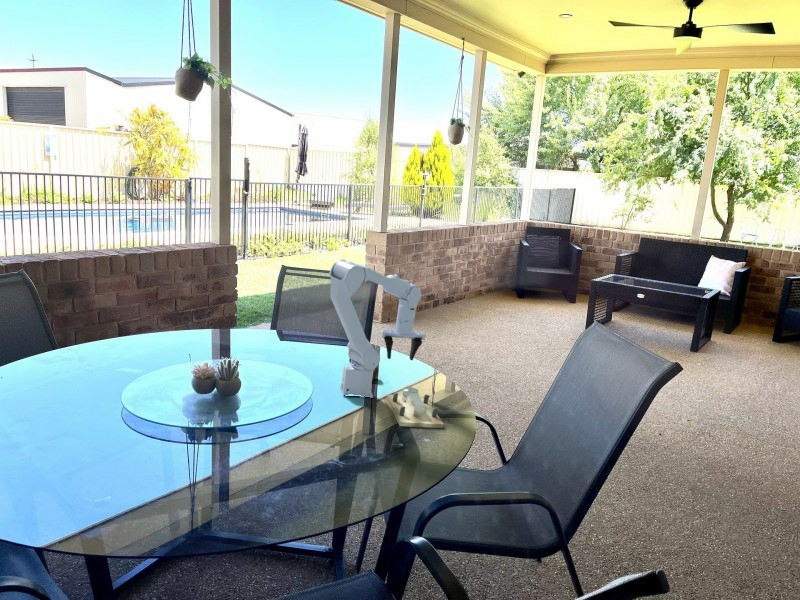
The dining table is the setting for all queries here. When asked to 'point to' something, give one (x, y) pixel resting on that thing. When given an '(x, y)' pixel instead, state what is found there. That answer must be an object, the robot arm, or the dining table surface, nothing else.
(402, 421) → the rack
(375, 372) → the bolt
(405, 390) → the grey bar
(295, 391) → the dining table surface
